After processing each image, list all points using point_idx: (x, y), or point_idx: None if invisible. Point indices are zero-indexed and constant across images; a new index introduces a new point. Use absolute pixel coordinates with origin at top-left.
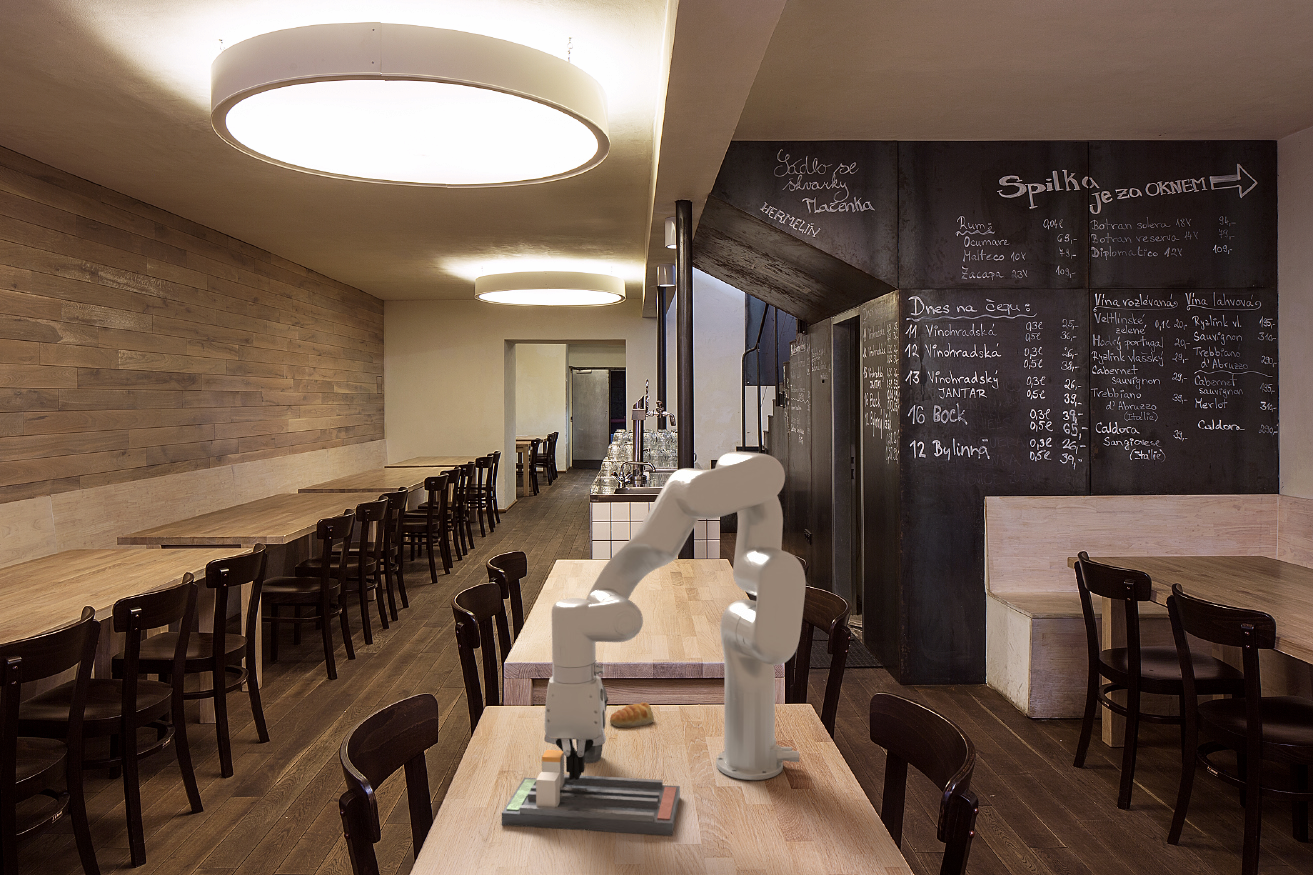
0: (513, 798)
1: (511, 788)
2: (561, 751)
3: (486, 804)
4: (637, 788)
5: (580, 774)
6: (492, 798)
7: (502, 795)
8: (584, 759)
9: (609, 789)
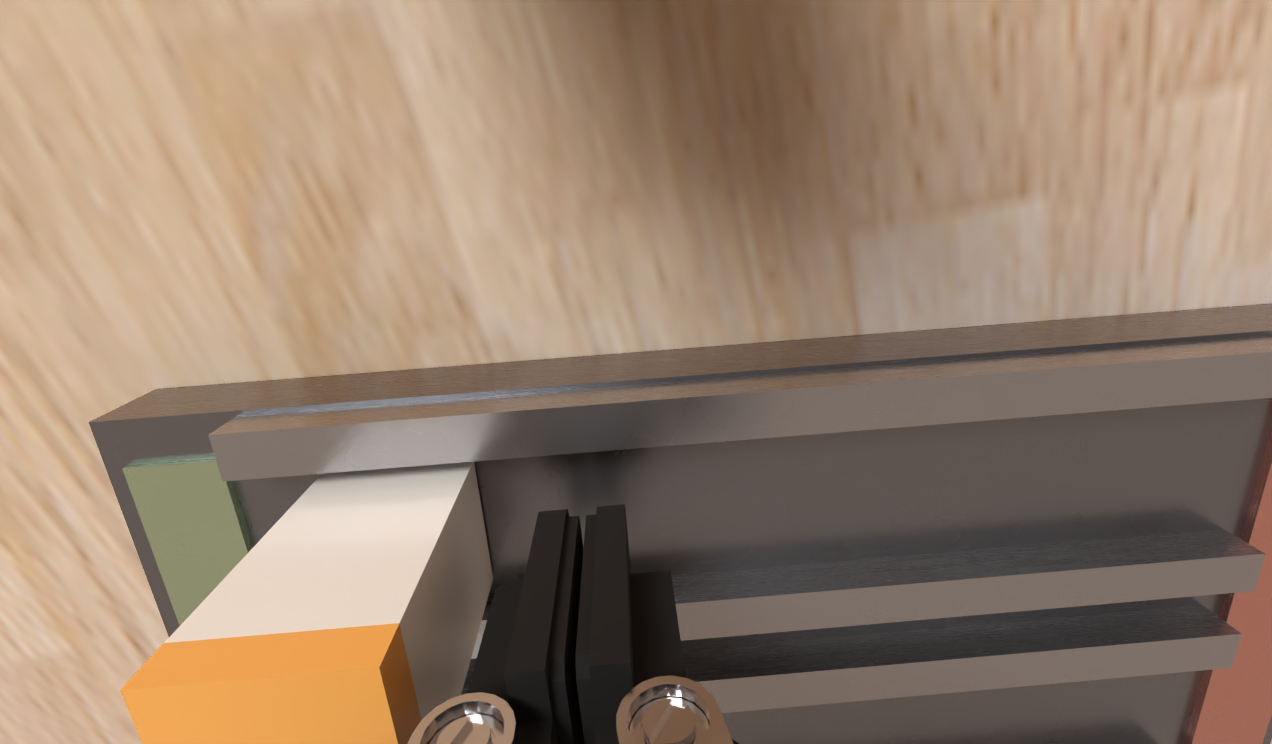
0: None
1: (60, 403)
2: (357, 697)
3: (50, 630)
4: (1067, 420)
5: (629, 558)
6: (31, 558)
7: (68, 509)
8: (679, 644)
9: (853, 478)
